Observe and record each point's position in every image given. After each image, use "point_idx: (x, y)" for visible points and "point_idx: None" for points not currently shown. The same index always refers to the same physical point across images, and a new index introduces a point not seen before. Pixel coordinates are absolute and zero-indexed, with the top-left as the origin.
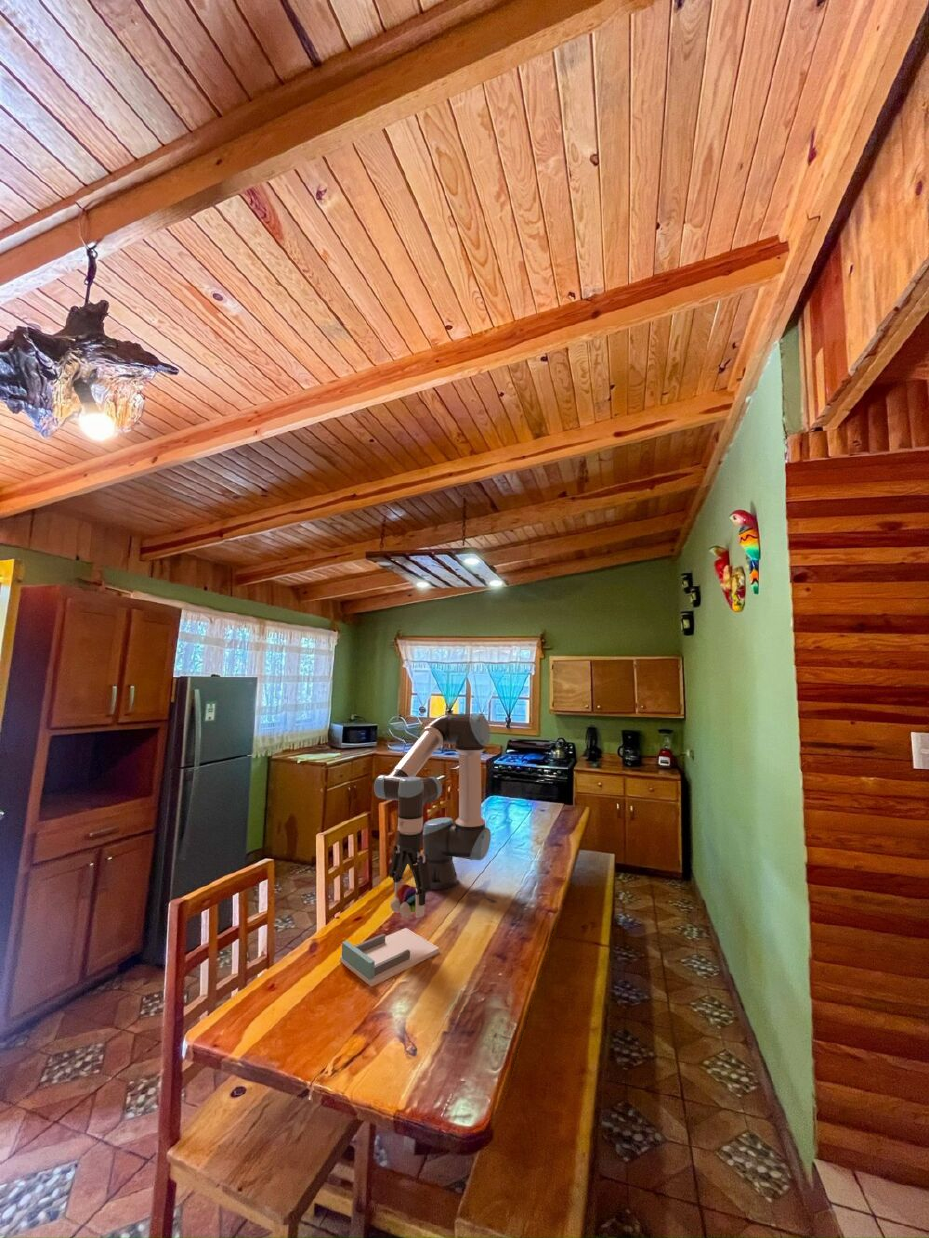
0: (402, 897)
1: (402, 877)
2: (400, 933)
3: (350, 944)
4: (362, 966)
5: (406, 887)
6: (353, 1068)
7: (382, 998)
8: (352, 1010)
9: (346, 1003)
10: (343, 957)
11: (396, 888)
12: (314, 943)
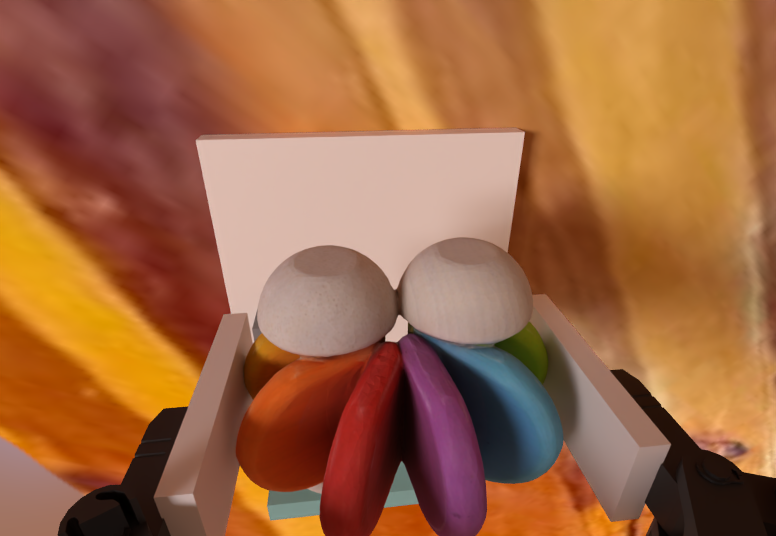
0: (393, 476)
1: (113, 509)
2: (243, 205)
3: (309, 504)
4: None
5: (367, 496)
6: None
7: None
8: (515, 493)
9: None
10: None
11: (230, 503)
12: (74, 478)
